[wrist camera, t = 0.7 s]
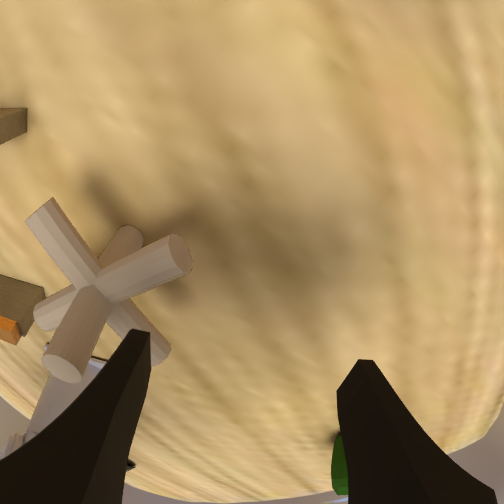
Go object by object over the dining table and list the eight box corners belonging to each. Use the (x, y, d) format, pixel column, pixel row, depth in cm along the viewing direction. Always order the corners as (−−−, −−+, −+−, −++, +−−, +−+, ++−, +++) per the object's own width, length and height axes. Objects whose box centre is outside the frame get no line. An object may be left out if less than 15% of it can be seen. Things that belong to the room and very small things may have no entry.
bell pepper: (333, 451, 36) (342, 515, 28) (318, 430, 32) (328, 508, 24) (394, 432, 35) (409, 497, 26) (389, 409, 31) (409, 487, 22)
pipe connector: (35, 209, 18) (-59, 309, 9) (151, 125, 15) (45, 209, 7) (120, 317, 22) (78, 434, 14) (239, 270, 20) (233, 417, 12)
